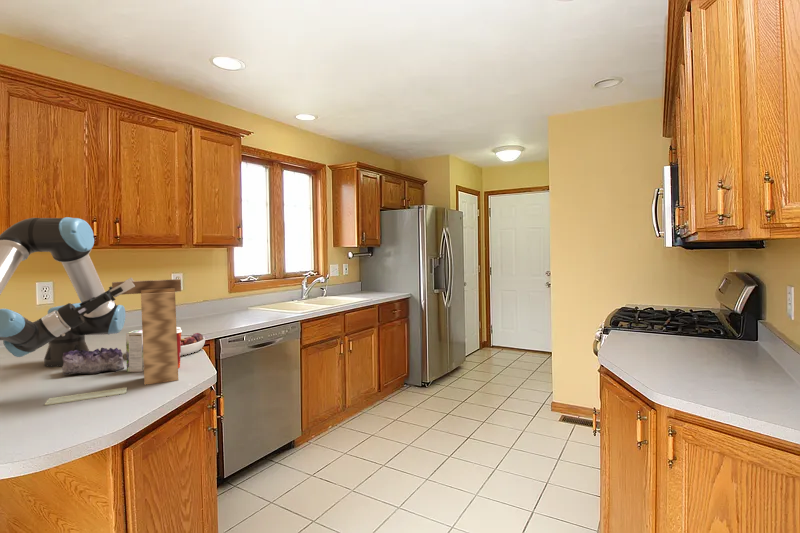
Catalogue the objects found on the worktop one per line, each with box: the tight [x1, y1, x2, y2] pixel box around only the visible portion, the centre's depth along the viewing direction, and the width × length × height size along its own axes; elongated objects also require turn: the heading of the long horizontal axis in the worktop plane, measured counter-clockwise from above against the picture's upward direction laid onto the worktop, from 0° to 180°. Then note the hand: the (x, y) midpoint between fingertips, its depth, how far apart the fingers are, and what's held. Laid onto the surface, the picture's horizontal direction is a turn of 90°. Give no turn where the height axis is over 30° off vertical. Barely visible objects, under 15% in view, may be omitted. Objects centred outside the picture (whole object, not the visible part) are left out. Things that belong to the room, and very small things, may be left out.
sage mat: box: [44, 387, 128, 406], centre depth 136 cm, size 20×6×1 cm, turn 119°
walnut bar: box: [111, 278, 182, 295], centre depth 151 cm, size 20×4×4 cm, turn 119°
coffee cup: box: [176, 326, 183, 369], centre depth 167 cm, size 8×8×15 cm
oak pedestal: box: [140, 288, 179, 386], centre depth 153 cm, size 10×10×31 cm
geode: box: [61, 347, 125, 376], centre depth 164 cm, size 20×12×10 cm, turn 108°
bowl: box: [180, 332, 206, 357], centre depth 193 cm, size 30×30×8 cm
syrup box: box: [125, 329, 144, 373], centre depth 165 cm, size 6×6×14 cm
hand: (133, 281), depth 148 cm, fingers open, 11 cm apart
